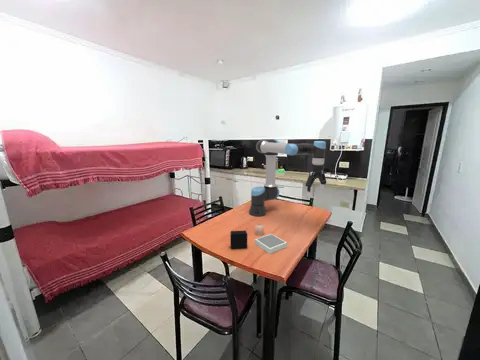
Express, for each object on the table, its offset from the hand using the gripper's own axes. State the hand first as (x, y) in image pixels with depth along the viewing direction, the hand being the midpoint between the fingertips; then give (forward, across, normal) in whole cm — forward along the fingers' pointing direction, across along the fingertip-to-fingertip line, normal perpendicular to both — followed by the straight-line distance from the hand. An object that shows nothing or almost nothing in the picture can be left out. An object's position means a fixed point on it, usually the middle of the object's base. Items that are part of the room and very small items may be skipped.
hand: (315, 194), depth 140 cm
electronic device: (+28, -56, +12) cm, 64 cm away
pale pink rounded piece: (+28, -34, +18) cm, 48 cm away
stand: (+28, -39, +2) cm, 47 cm away
